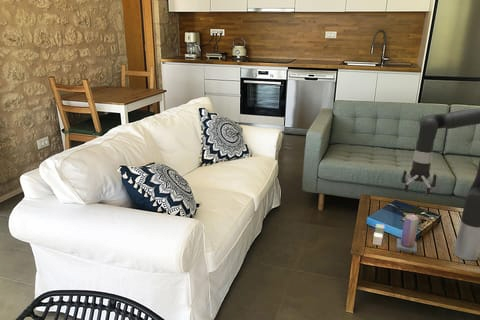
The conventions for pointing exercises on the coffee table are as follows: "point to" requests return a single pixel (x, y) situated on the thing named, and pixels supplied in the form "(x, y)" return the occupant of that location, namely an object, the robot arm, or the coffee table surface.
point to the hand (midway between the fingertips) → (416, 192)
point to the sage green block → (379, 228)
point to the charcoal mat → (409, 249)
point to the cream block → (377, 239)
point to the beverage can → (409, 230)
